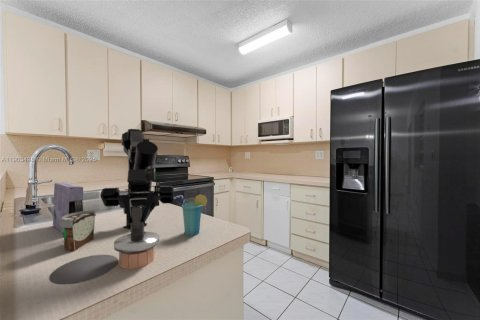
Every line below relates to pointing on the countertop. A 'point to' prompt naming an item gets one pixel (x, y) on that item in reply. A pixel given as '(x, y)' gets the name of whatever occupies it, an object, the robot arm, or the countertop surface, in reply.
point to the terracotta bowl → (136, 258)
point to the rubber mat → (83, 269)
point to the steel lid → (136, 234)
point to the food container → (78, 229)
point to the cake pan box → (66, 201)
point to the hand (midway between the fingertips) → (136, 222)
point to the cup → (192, 214)
